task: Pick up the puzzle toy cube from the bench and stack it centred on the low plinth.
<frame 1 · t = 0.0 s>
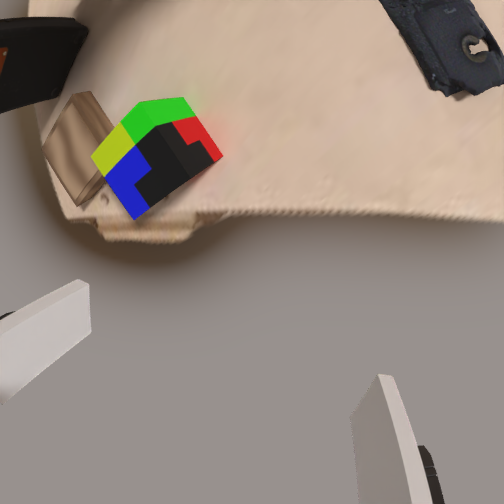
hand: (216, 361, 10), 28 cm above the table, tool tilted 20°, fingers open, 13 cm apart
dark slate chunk: (437, 16, 17), on the table
plinth: (88, 146, 37), on the table
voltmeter: (65, 57, 29), on the table
puzzle toy: (177, 145, 35), on the table
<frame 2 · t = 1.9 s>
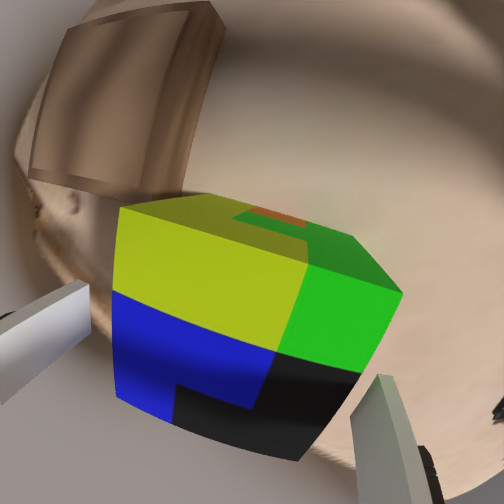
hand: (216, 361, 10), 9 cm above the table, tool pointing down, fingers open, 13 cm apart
plinth: (124, 102, 18), on the table
puzzle toy: (261, 280, 19), on the table
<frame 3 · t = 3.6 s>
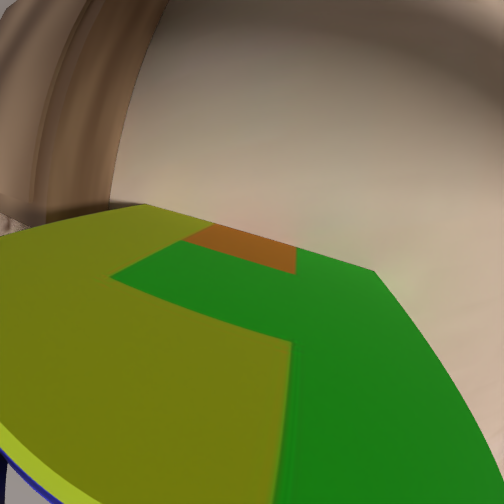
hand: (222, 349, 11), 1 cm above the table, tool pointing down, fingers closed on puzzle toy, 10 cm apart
plinth: (52, 85, 10), on the table
puzzle toy: (228, 337, 12), on the table, touching gripper
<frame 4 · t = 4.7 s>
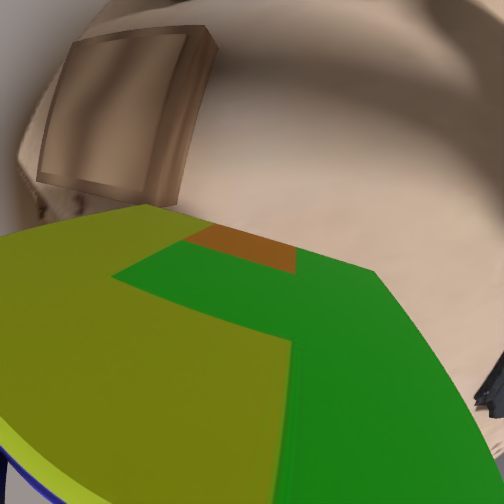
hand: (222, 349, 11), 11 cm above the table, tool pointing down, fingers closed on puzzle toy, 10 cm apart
plinth: (126, 114, 20), on the table
puzzle toy: (228, 336, 12), point 10 cm above the table, touching gripper
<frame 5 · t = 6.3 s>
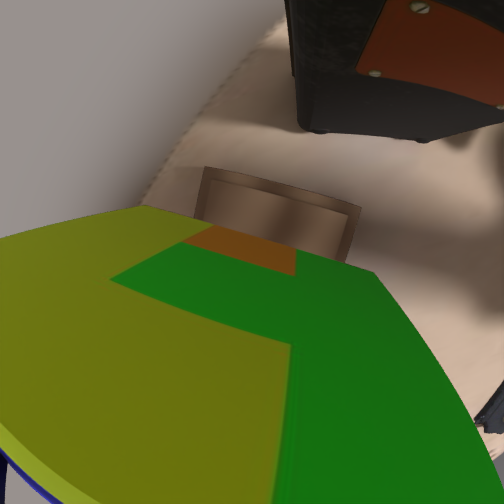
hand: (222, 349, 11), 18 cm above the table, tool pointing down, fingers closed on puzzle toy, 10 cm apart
plinth: (267, 251, 28), on the table
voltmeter: (365, 101, 23), on the table
puzzle toy: (228, 338, 12), point 17 cm above the table, touching gripper
when the fingers open (6 cm above the table, at t = 9.3 s): puzzle toy drops 1 cm, resting on plinth.
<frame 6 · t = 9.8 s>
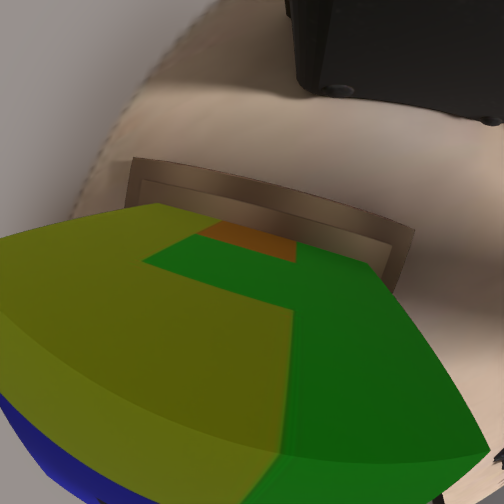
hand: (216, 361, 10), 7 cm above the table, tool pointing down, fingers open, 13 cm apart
plinth: (248, 294, 17), on the table
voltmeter: (402, 58, 12), on the table
puzzle toy: (234, 325, 13), point 4 cm above the table, touching plinth
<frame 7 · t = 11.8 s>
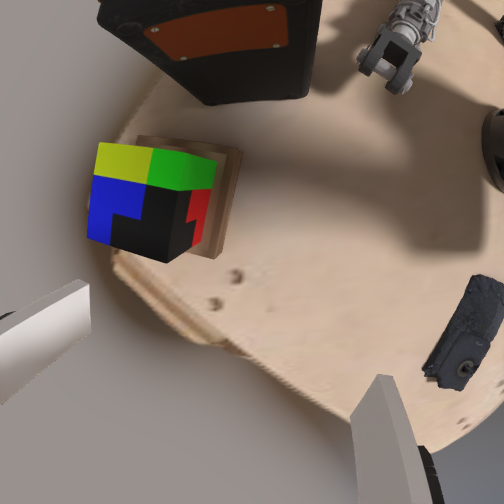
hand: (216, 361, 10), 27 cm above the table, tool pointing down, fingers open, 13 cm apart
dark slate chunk: (469, 332, 36), on the table
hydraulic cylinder: (406, 28, 26), on the table
plinth: (184, 192, 37), on the table
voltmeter: (253, 78, 32), on the table
puzzle toy: (172, 193, 33), point 4 cm above the table, touching plinth
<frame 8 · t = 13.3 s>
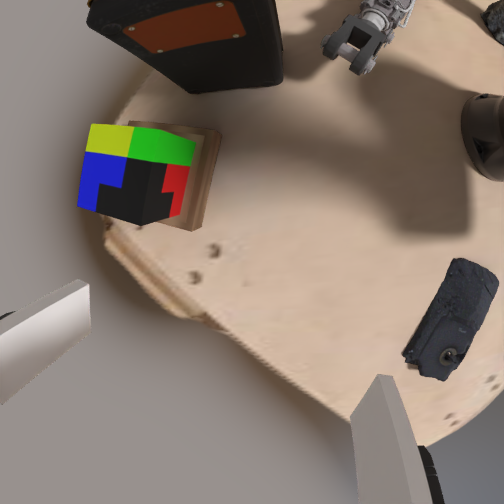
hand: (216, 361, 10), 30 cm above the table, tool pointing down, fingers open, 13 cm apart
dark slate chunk: (453, 319, 38), on the table
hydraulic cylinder: (384, 18, 27), on the table
plinth: (169, 172, 39), on the table
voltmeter: (234, 69, 34), on the table
puzzle toy: (156, 172, 35), point 4 cm above the table, touching plinth
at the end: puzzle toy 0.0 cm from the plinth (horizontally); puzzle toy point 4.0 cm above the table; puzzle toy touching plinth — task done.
